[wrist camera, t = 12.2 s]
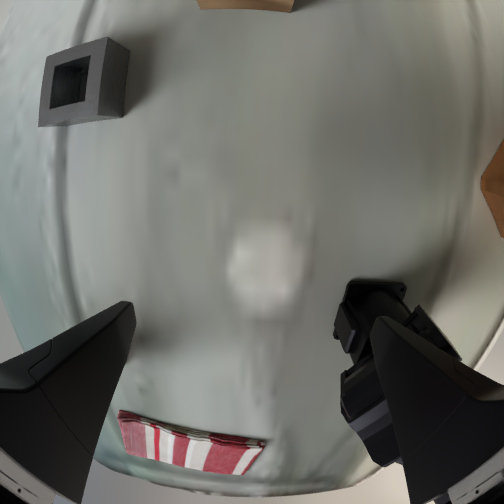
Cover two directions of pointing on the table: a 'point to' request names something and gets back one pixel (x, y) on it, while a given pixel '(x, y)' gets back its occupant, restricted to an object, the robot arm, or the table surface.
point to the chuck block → (97, 90)
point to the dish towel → (188, 446)
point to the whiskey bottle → (495, 187)
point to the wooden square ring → (248, 4)
